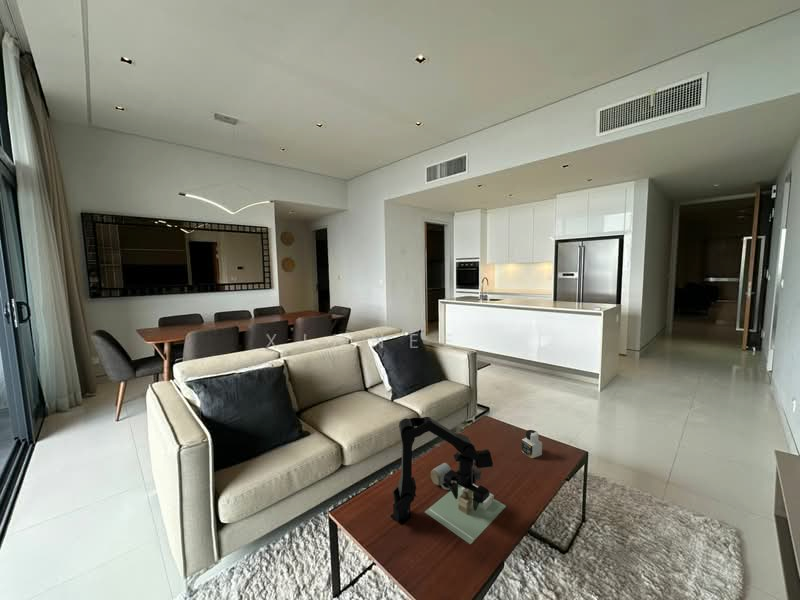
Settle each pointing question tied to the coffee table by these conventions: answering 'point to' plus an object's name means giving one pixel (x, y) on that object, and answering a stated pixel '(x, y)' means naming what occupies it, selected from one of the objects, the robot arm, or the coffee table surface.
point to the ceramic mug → (440, 475)
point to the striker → (465, 503)
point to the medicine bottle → (531, 444)
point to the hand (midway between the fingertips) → (465, 504)
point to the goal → (486, 502)
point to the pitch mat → (464, 516)
